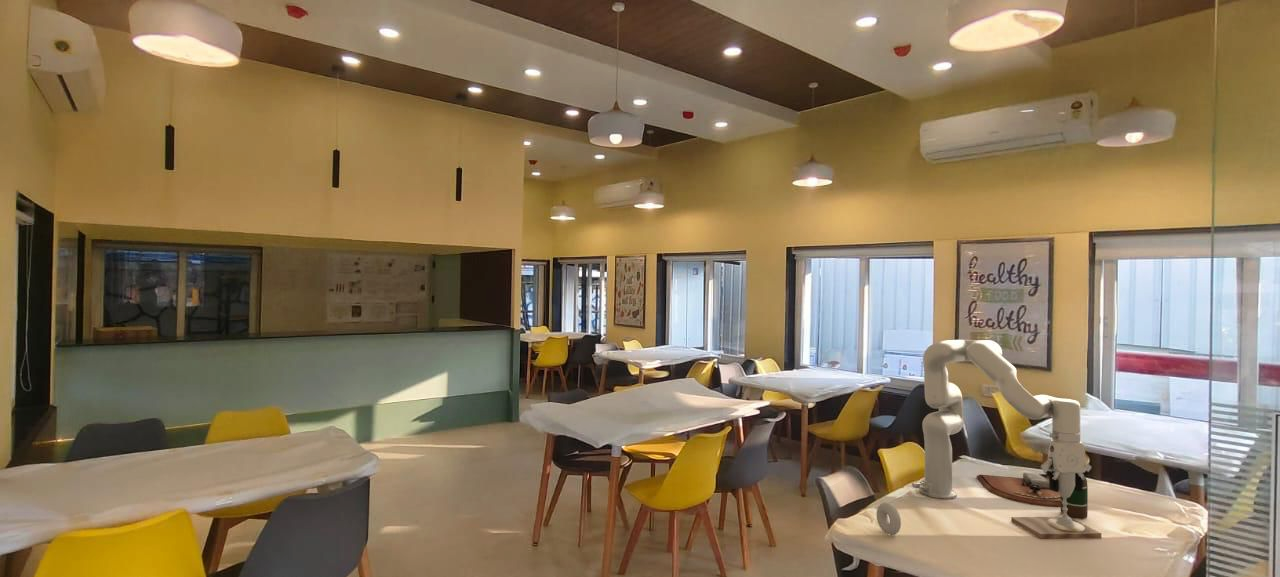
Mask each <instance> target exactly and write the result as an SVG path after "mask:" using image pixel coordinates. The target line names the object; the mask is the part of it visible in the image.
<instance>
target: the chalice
mask: <svg viewBox="0 0 1280 577" xmlns="http://www.w3.org/2000/svg"><path fill="white" fill-rule="evenodd" d="M1054 473H1055V471H1054ZM1054 473H1053V474H1054ZM1057 480H1058V481H1059V491H1058V493H1059V495H1060V496H1061V497H1063V502H1062V504H1063V508H1062V510H1063V514H1062V515H1059V516H1057V517H1058V519H1057V521H1056V523H1057V524H1059V525H1061V526H1066V527H1074V526H1075V525H1074V524H1073V521H1072V519H1073V518H1072V519H1071V518H1070V517H1068V515H1067V510H1068V509H1067V507H1066V506H1067V501H1066V499H1067V498H1069V497H1070V496H1071V494H1072V492H1073V490H1074V488H1075V473H1074V472H1068V473H1060V474H1059V476H1058V477H1057Z"/></svg>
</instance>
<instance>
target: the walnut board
mask: <svg viewBox="0 0 1280 577" xmlns="http://www.w3.org/2000/svg"><path fill="white" fill-rule="evenodd" d="M1058 517H1059V516H1014V517H1013V516H1011V518H1010V519H1011V520H1010V522H1011V523H1013V524H1014V525H1016V526H1019V527H1020V528H1021V527H1022V528H1021V529H1023V530H1024V531H1027V532H1029V533H1030V534H1032V535H1034V536H1035V537H1037V538H1039V539H1041V540H1042V539H1045V540H1046V539H1047V540H1048V539H1049V540H1050V539H1053V540H1054V539H1066V540H1067V539H1102V532H1099V531H1097V530H1096V529H1093V528H1091V527H1090V526H1088V525H1086V524H1084V523H1081V522H1079V521H1078V520H1077V519H1076V520H1075V518H1071V519H1072V521H1073V524H1074V525H1075V526H1074V527H1066V526H1061V525H1059V524H1057V523H1056V521H1057V519H1058Z"/></svg>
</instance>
